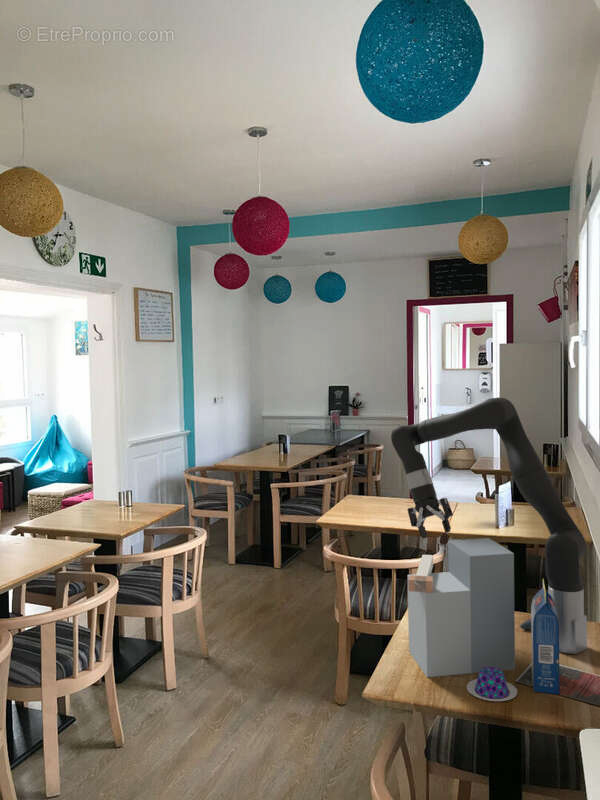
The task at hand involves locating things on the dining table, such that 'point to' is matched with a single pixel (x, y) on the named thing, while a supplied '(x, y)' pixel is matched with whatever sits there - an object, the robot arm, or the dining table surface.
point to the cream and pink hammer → (422, 576)
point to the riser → (466, 612)
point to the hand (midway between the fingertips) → (436, 535)
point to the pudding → (491, 685)
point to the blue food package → (544, 643)
